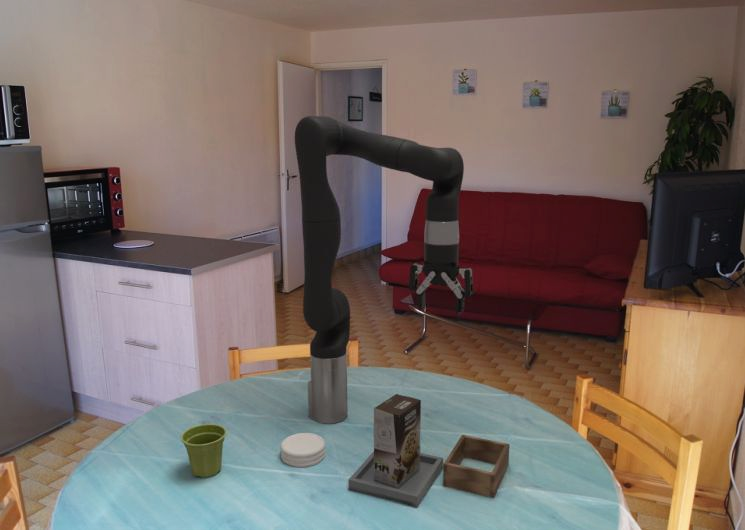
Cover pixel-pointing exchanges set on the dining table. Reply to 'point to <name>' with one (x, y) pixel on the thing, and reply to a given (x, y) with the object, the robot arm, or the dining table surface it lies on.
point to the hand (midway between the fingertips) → (440, 311)
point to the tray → (407, 492)
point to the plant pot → (204, 448)
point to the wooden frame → (472, 477)
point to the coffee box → (397, 440)
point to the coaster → (303, 449)
